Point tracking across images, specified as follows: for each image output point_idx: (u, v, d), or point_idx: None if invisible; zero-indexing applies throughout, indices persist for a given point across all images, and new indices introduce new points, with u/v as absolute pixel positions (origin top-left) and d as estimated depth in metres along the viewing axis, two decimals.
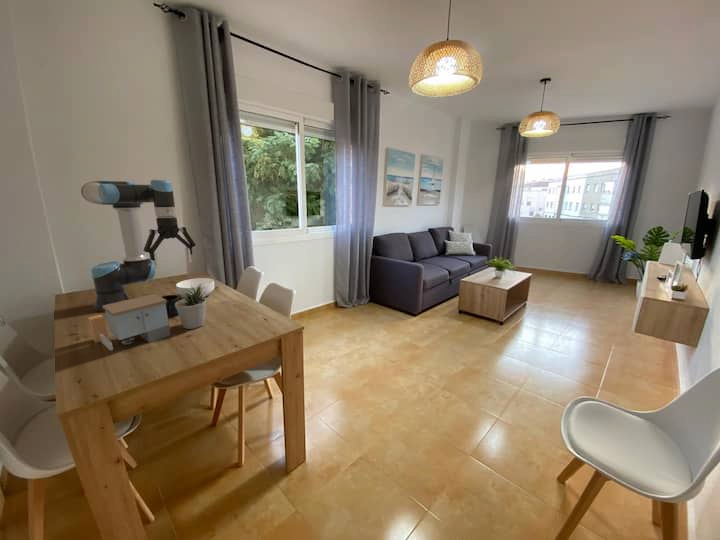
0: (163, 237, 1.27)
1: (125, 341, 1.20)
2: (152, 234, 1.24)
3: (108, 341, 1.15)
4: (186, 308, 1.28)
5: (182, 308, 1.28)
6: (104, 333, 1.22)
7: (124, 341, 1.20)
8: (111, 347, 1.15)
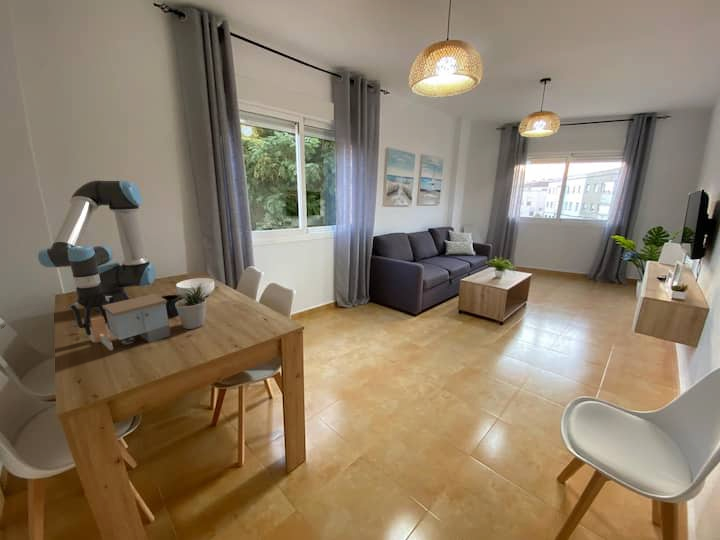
0: (88, 308, 1.17)
1: (126, 341, 1.20)
2: (74, 310, 1.14)
3: (108, 341, 1.15)
4: (186, 308, 1.28)
5: (182, 308, 1.28)
6: (104, 333, 1.22)
7: (124, 341, 1.19)
8: (111, 347, 1.15)
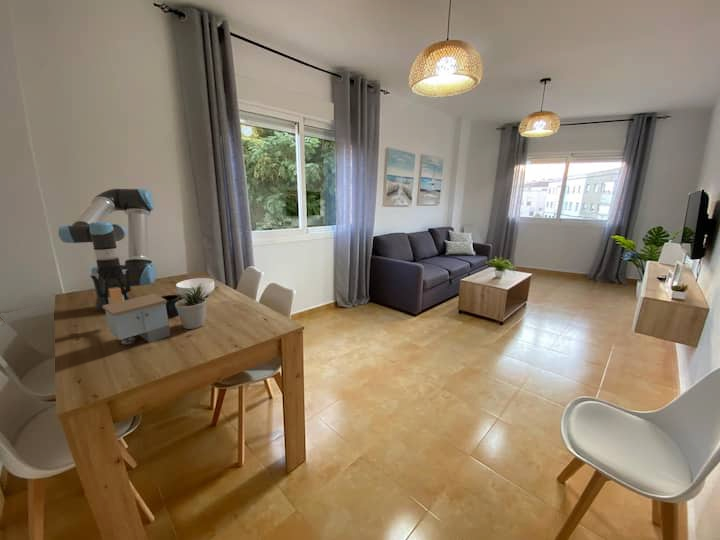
0: (107, 279, 1.27)
1: (128, 340, 1.20)
2: (95, 280, 1.24)
3: None
4: (186, 308, 1.28)
5: (182, 308, 1.28)
6: None
7: (127, 341, 1.19)
8: None
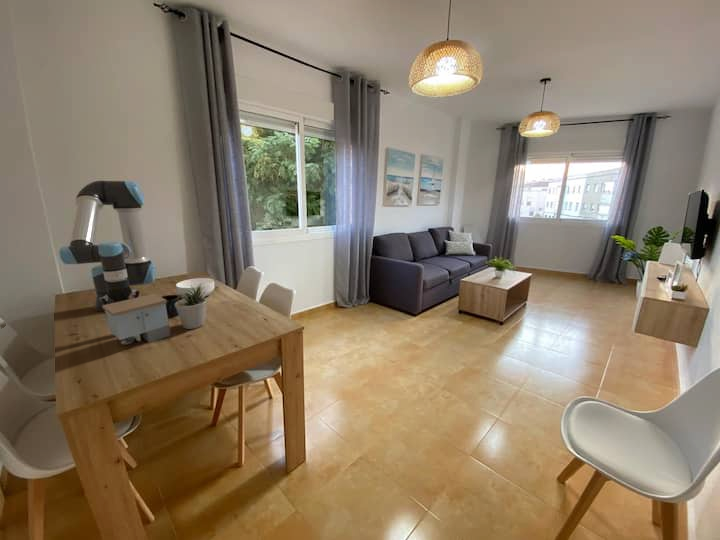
0: (117, 301, 1.23)
1: (130, 339, 1.21)
2: (104, 302, 1.20)
3: None
4: (186, 308, 1.28)
5: (182, 308, 1.28)
6: None
7: (130, 339, 1.20)
8: (139, 338, 1.21)
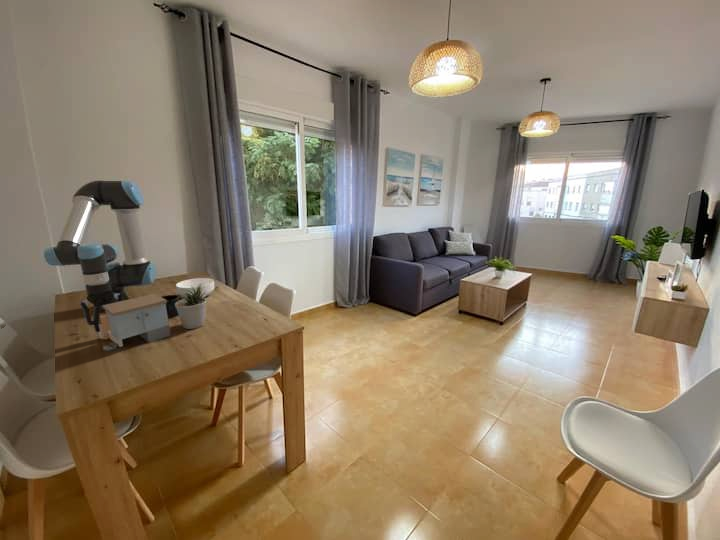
0: (98, 306, 1.18)
1: (113, 345, 1.16)
2: (84, 307, 1.15)
3: None
4: (186, 308, 1.28)
5: (182, 308, 1.28)
6: None
7: (113, 345, 1.16)
8: (121, 344, 1.16)
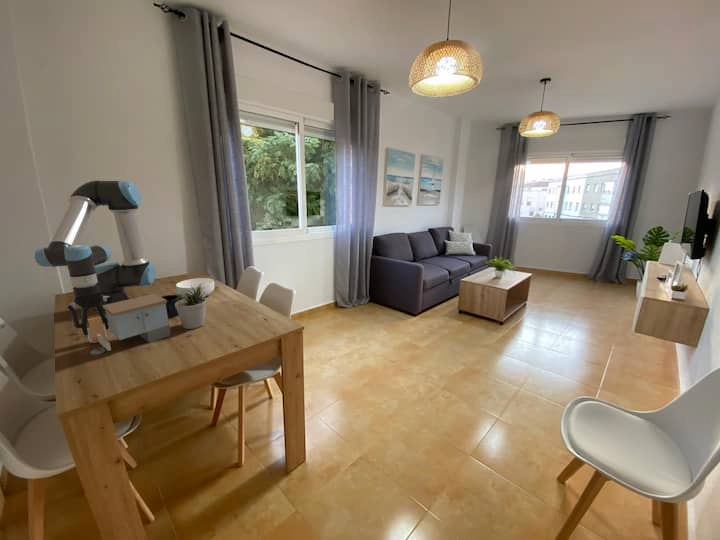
0: (85, 308, 1.15)
1: (101, 349, 1.13)
2: (71, 310, 1.12)
3: (106, 341, 1.14)
4: (186, 308, 1.28)
5: (182, 308, 1.28)
6: (102, 333, 1.20)
7: (101, 350, 1.13)
8: (109, 347, 1.13)
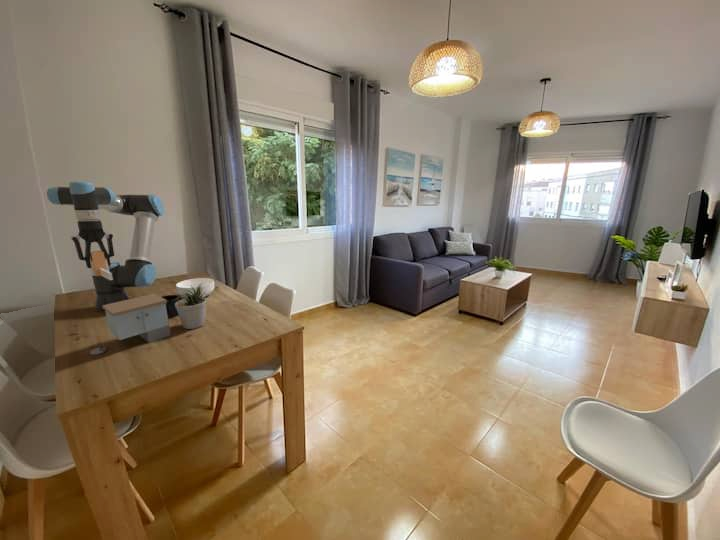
0: (89, 242, 1.24)
1: (101, 349, 1.13)
2: (76, 242, 1.21)
3: (108, 272, 1.22)
4: (186, 308, 1.28)
5: (182, 308, 1.28)
6: (104, 268, 1.29)
7: (101, 349, 1.13)
8: (111, 277, 1.21)
